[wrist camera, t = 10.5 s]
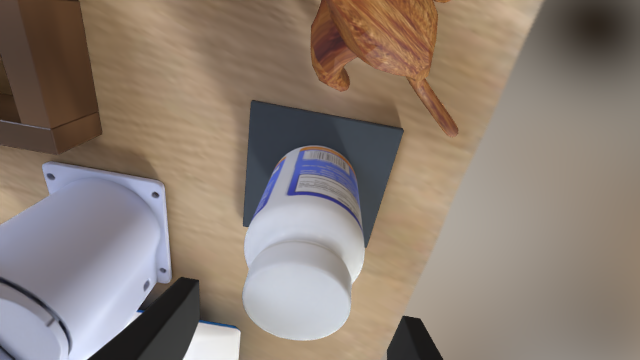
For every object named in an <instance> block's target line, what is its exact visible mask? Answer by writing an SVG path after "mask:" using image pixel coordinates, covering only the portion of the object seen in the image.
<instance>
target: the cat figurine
mask: <svg viewBox="0 0 640 360" xmlns="http://www.w3.org/2000/svg"><path fill="white" fill-rule="evenodd" d="M434 1H436V2H442V3H445V2H448V1H450V0H434ZM437 21H438V14H437V11H436V8H435V5H434V2H433V0H321V4H320V7H319V10H318V13H317V15H316V17H315V20H314V22H313V24H312V26H311V58H312V66H313V68H314V70H315V72H316V74H317V76H318V78H319V80H320V81H321V82H323V83H325V84H327V85H328V86H330V87H333V88H335V89H337V90H339V91H340V92H341V91H345V90H347V89H348V88H349V85H350V80H349V76H348V74H347V72H346V70H345V69H344V66H345V64H346V63H348V62H350V61H351V60H353V59H355V58H356V57H359V58H360V59H362V60H363V61H364V62H366V63H367V64H369V65H370V66H372V67H374V68H376V69H379V70H382V71H385V72H388V73H392V74H396V75H401V76H406V78H407V80H408V81H409V83H410V85H411V86H412V88H413V89H414V91H415V92H416V93H417V95H418V96H419V98H420V99H421V101H422V102H423V104H424V105H425V106H426V108H427V109H428V110H429V112H430V113H431V115H432V116H433V117H434V119H435V120H436V121H437V123H438V124H439V126H440V127H441V128H442V130H443V131H444V132H445V133H446V134H447V135H448V136H450V137H455V136H456V135H457V134H458V127H457V126H456V124H455V122H454V121H453V119H452V118H451V116H450V115H449V114H448V112H447V111H446V109H445V108H444V106H443V105H442V104H441V102H440V101H439V99H438V98H437V96H436V95H435V93H434V92H433V90H432V89H431V87H430V86H429V84H428V82H427V81H426V79H425V77H427V76H428V74H429V71H430V67H431V61H432V56H433V52H434V47H435V42H436V34H437Z"/></svg>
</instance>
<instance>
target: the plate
mask: <svg viewBox="0 0 640 360" xmlns="http://www.w3.org/2000/svg"><path fill="white" fill-rule="evenodd" d="M143 312H144V311H143V310H137V311H136V313H135V314H134V315H133V317H132V318H131V320H130V321H129V323H128V324H127V325H126V327H127V326H128V325H129V324H130V323H131V322H133V321H134V320H135V319H136V318H137V317H138V316H139V315H141V314H142V313H143ZM126 327H125V328H126ZM125 328H124V329H125ZM240 334H241V332H240V330H239V329H238V328H237V327H235V326H233V325H227V324H221V323H215V322H209V321H203V320H199V323H198V325H197V328H196V331H195V333H194V336H193V338H192V341H191V343H190V346H189V348H188V351H187V353H186V354H185V356H184V358H183V360H238V358H239V346H240Z"/></svg>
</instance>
